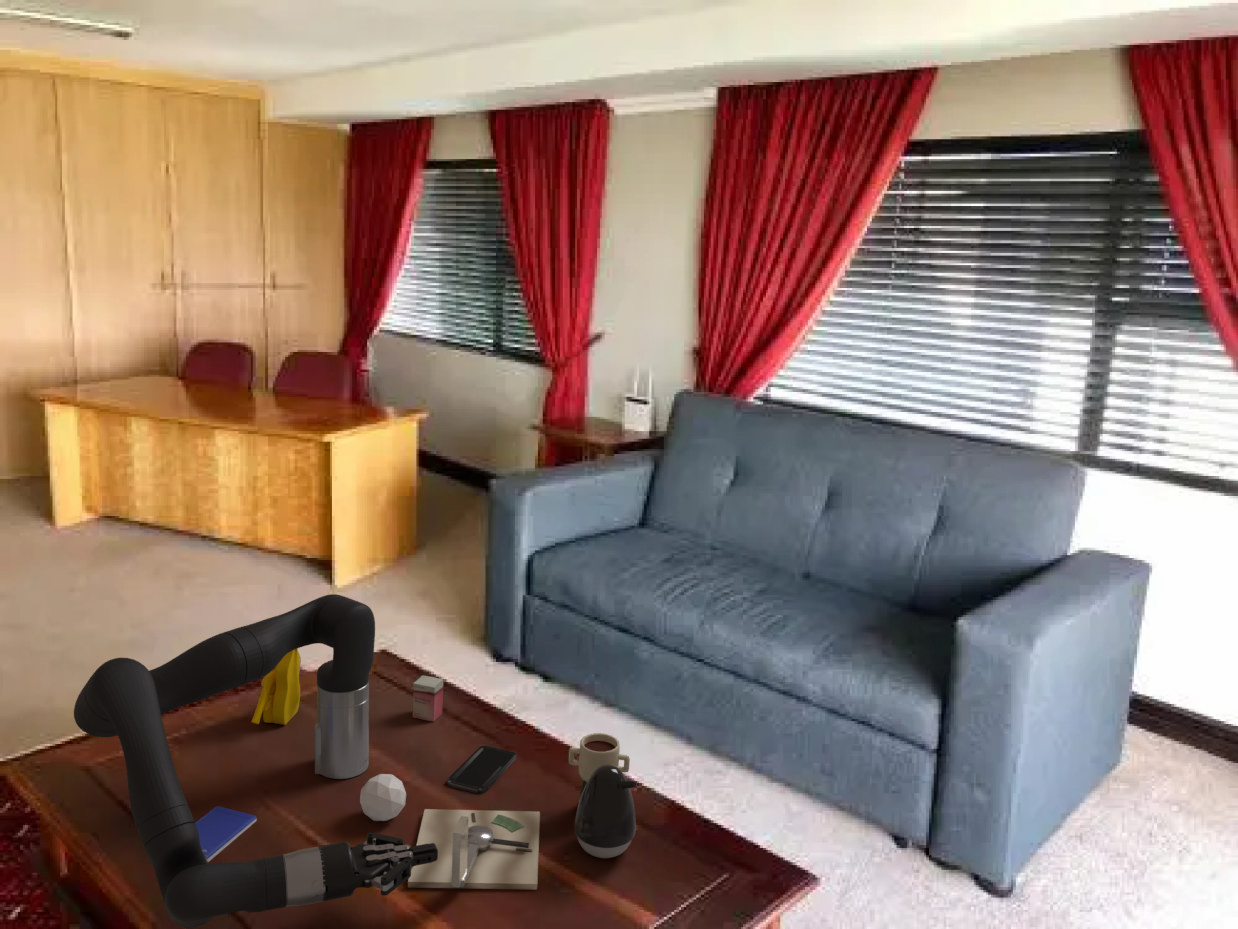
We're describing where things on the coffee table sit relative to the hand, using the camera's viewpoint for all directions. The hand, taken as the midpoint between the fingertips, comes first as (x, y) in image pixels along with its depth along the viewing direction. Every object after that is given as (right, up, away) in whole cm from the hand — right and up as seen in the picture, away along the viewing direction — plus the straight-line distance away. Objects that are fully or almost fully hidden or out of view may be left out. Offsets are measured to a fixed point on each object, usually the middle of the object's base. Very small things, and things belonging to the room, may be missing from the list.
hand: (436, 852), depth 154 cm
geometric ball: (-13, -3, +23) cm, 27 cm away
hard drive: (-40, -4, +15) cm, 43 cm away
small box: (-12, +6, +59) cm, 60 cm away
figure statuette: (-41, +6, +54) cm, 68 cm away
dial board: (+4, -5, +15) cm, 17 cm away
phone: (+2, 0, +40) cm, 39 cm away
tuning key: (+7, -6, +9) cm, 12 cm away
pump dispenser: (+25, -6, +18) cm, 31 cm away
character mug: (+23, -3, +29) cm, 37 cm away
